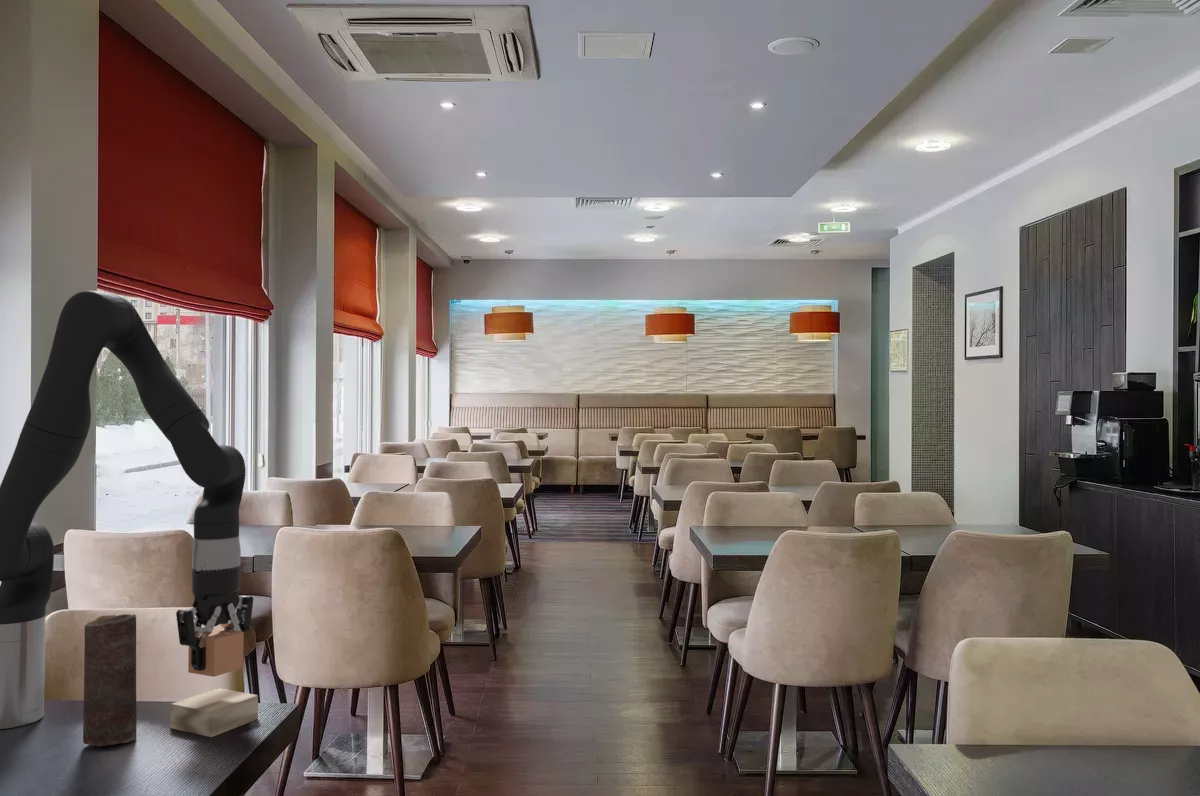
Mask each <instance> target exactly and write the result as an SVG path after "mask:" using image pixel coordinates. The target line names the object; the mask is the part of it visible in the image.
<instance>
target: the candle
mask: <svg viewBox="0 0 1200 796" xmlns="http://www.w3.org/2000/svg"><path fill="white" fill-rule="evenodd" d="M83 635H84V649H83V650H84V653H83V654H84V655H83V656H84V661H83V662H84V663H83V664H84V665H83V668H84V669H83V671H84V673H83V675H84V676H83V711H82V712H83V716H82V718H83V723H82V724H83V725H82V742H83V745H90V746H96V747H108V746H114V745H117V744H128V743H131V742H135V741H136V740H137V721H138V720H137V718H138V717H137V714H138V713H137V710H138V709H137V708H138V707H137V615H136V613H135V614H134V613H133V614H127V613H126V614H125V613H124V614H119V615H116V614H112V615H111V614H110V615H109V614H108V615H101V616H98V617H96V618H95V619H94V620H91V621H89V622H88V623H86V624H85V625H84V634H83Z"/></svg>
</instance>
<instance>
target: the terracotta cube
mask: <svg viewBox="0 0 1200 796" xmlns="http://www.w3.org/2000/svg"><path fill="white" fill-rule="evenodd" d="M244 633H245V632H241V631H232V630H224V628H215V629H214V628H213V631H212V633H211V634H209V636H208V638H207V639H206V644H205V646H204V647H206V668H205V670H202V671H199V670H194V668H193V667H192V665H191V647H190V646H188V665H187V667H188V669H187V670H188V671H187V672H188V673H189V674H194V675H195V674H196V675H201V676H207V677H213V678H214V677H218V676H221V675H224V674H227V673H230V672H234V671H236V670H239V669H243V668H244V650H245V649H244V640H245V639H244V638H245V637H244ZM200 635H201V634H200ZM199 638H200V636H199V637H198V640H199Z"/></svg>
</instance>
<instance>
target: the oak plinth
mask: <svg viewBox="0 0 1200 796" xmlns="http://www.w3.org/2000/svg"><path fill="white" fill-rule="evenodd" d="M258 717H259V695H258V694H254V693H253V694H252V693H247V692H243V691H237V690H231V689H225V688H219V687H218V688H213V689H211V690H209V691H205V692H202V693H198V694H196V695H193V696H190V697H187V698H184V699H181V700H178V701H175V702H172V703H171V704H170V729H173V730H175V731H176V730H177V731H181V732H185V733H191V734H195V735H200V736H204V737H208V738H213V737H216V736H218V735H220V734H223V733H226V732H228V731H231V730H233V729H236V728H238V727H241V726H243V725H246V724H249V723H251V722H254V721H256V720H258V719H259V718H258Z"/></svg>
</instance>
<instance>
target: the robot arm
mask: <svg viewBox="0 0 1200 796" xmlns="http://www.w3.org/2000/svg"><path fill="white" fill-rule="evenodd" d="M54 333H55V334H54V337H53V340H52V345H51V349H50V352H49V356H48V357H49V358H48V360H47V364H46V367H45V369H44V373H43V375H42V378H41V379H40V383H39V386H38V388H37V390H36V395H35V397H34V399H33V402H32V405H31V407H30V409H29V412H28V414H27V416H26V418H25V420H24V421H25V422H24V423H23V426H22V429H21V431H20V434H19V437H18V440H17V443H16V445H15V448H14V450H13V454H12V456H11V459H10V462H9V464H8V466H7V468H6V471H5V473H4V475H3V479H2V480H1V483H0V730H3V729H10V728H11V729H12V728H17V727H22V726H25V725H29V724H31V723H35V722H38V721H39V720H41V719H42V718H43V717H44V715H45V711H44V710H45V672H46V671H45V668H46V667H45V664H46V662H45V661H46V655H45V654H46V609H47V608H46V607H47V605H48V602H49V601H50V599H51V595H52V588H53V577H54V576H53V575H54V562H55V549H54V541H53V538H52V536H51V535H52V534H51V533H50V531H49V530H48V529H47V528H46V526H44V525H42V524H40V523H39V522H36V521H33V520H34V517H35V516H36V513H37V512H38V509H39V508H40V506H41V505H42V503H43V502H44V501H45V500H46V498H47V497H49V495H50V494H51V493H52V491H53V490H55V488H56V487H57V486H59V484H60V483H61V482H62V481H63V480H64V478H66V477H67V475H68V474H69V472H70V471H71V470H72V468H73V467H74V466H75V465H76V464H77V462H78V460H79V457H80V454H81V452H82V449H83V447H84V445H85V441H86V440H87V436H88V434H89V431H90V427H91V423H92V410H91V409H92V407H91V396H90V384H91V379H92V374H93V372H94V369H95V367H96V364H97V361H98V359H99V356H100V354H101V352H102V351H103V348H106V349H107V350H109V351H110V352H111V354H113V355H114V356H115V357H116V358H117V359H118V361H120V362H121V363H122V364H123V366H125V368H126V369H127V371H128V372H129V374H130V376H131V377H132V380H133V382H134V383H135V387H136V390H137V393H138V396H139V399H140V401H141V403H142V405H143V408H144V410H145V411H146V413H147V415H148V416H149V417H150V419H151V420H152V421H153V423H154V424H155V425H156V427H157V428H158V429H159V430H160V431H161V433H162V434H163V435H164V437H165V438H166V440H167V441H168V442H169V443H170V445H171V446H172V449H173V451H174V454H175V456H176V457H177V460H178V461H179V464H180V467H182V468H181V469H183V472H185V474H186V475H187V477H188V478H189V479H190V480H191V481H192V482H193V483H194V484H196V485H197V486H199V487H201V488H203V494H202V500H201V502H200V503H199V504H198V505H197V506H196V507H195V509H194V514H193V544H192V551H191V592H192V594H193V597H194V598H193V603H192V605H191V607H188V608H186V609H177V611H176V613H175V614H176V624H177V631H178V632H177V633H178V640H179V645H180V646H186V647H189V646H190V647H191V665H192V667H193V668H194V670H199V671H202V670H205V668H206V647H204V646H205V644H206V639H207V638H208V636H209V634H211V633H212V631H213V630H214V628H215V627H217V626H219V625H220V626H221V627H222V629H224V630H232V631H241V632H244V633H245V632H249V631H250V630H251V623H252V616H253V608H254V607H253V606H254V597H253V596H252V595H251V596H250V595H243V594H242V595H239V594H238V593H239V591H240V590H241V577H242V575H241V574H242V573H241V568H242V567H241V563H242V562H241V555H242V552H241V551H242V550H241V549H242V548H241V542H240V505H241V501H242V498H243V492H244V488H245V481H246V462H245V459H244V457H243V454H242V453H241V452H240V451H239V450H238V449H237V448H236V447H233V446H232V445H231V446H230V445H226V444H224V445H223V444H221V445H220V444H218V443H217V442H216V440H215V439H214V438H213V436H212V434H211V433H210V431H209V429H210V422H209V419H208V418H207V416H206V415H205V413H204V411H203V410H202V409H201V408H200V406H198V404H197V403H196V402H195V400H194V399H193V398H192V396H191V395H190V394H189V393H188V392H187V390H186V389H185V388H184V386H183V385H182V384H181V382H180V380H179V379H177V377H176V375H175V374H174V372H173V371H172V370H171V368H170V366H169V365H168V364H167V362H166V361H165V359H164V357H163V356H162V354H161V351H160V350H159V349H158V347H157V345H156V343H155V342H154V340H153V338H152V336H151V334H150V333H149V331H148V329H147V327H146V325H145V323H144V321H143V319H142V318H141V316H140V314H139V312H138V311H137V309H136V308H135V306H134V305H133V304H132V303H131V302H130V301H129V300H128V299H127V298H124V297H123V296H121V295H118V294H113V293H106V292H102V291H97V290H82V291H79V292H76V293H75V294H73V295H72V296H71V297H69V298H68V300H67V301H66V302H65V304H64V306H63V307H62V310H61V312H60V314H59V318H58V321H57V325H56V329H55V332H54ZM202 625H203V626H204V627H202ZM200 634H201V635H200ZM199 636H200V638H199V640H198V637H199Z"/></svg>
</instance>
